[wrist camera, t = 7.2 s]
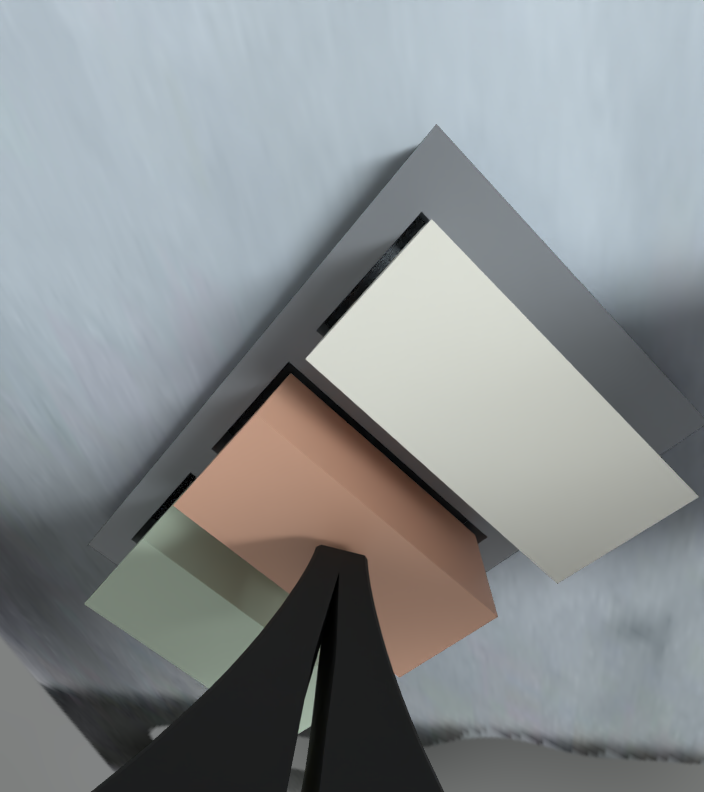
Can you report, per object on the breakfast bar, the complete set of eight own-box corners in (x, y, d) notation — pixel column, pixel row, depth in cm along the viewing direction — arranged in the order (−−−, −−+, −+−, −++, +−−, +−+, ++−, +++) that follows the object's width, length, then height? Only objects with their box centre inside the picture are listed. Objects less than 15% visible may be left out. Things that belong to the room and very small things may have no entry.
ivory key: (620, 432, 13) (698, 496, 9) (519, 505, 14) (557, 583, 11) (421, 228, 11) (431, 219, 8) (329, 330, 12) (305, 359, 9)
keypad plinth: (676, 404, 14) (708, 422, 12) (308, 665, 20) (301, 696, 19) (431, 139, 12) (436, 123, 10) (111, 521, 18) (87, 544, 17)
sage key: (365, 609, 17) (358, 696, 14) (306, 652, 18) (286, 741, 15) (196, 477, 15) (142, 539, 12) (145, 534, 17) (83, 604, 13)
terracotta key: (475, 534, 15) (498, 616, 11) (398, 589, 16) (399, 677, 13) (290, 372, 13) (255, 413, 10) (223, 448, 14) (172, 505, 11)
